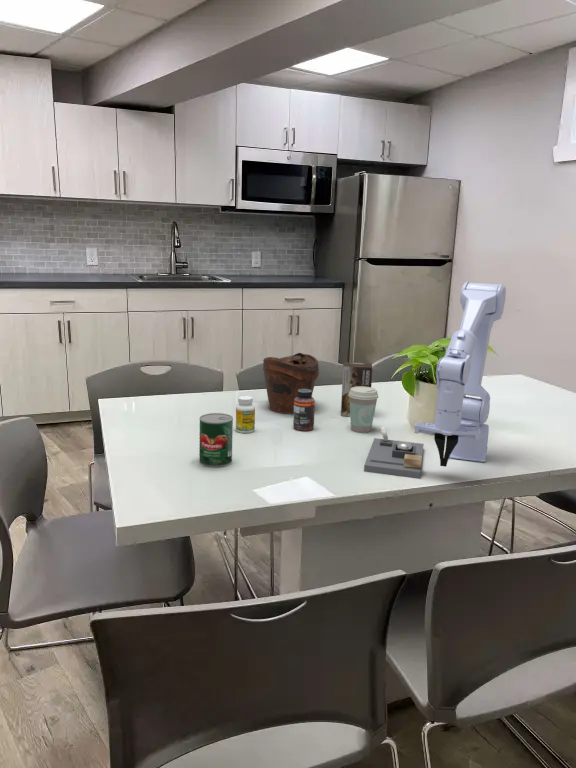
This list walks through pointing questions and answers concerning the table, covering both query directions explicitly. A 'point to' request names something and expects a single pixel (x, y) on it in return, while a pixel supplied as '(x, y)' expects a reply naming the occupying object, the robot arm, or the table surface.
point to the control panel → (391, 458)
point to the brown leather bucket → (288, 379)
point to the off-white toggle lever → (384, 433)
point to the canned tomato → (215, 440)
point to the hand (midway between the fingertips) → (443, 464)
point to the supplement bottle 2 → (304, 410)
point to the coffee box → (354, 381)
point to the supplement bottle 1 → (245, 415)
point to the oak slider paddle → (412, 461)
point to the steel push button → (404, 446)
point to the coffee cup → (362, 408)
